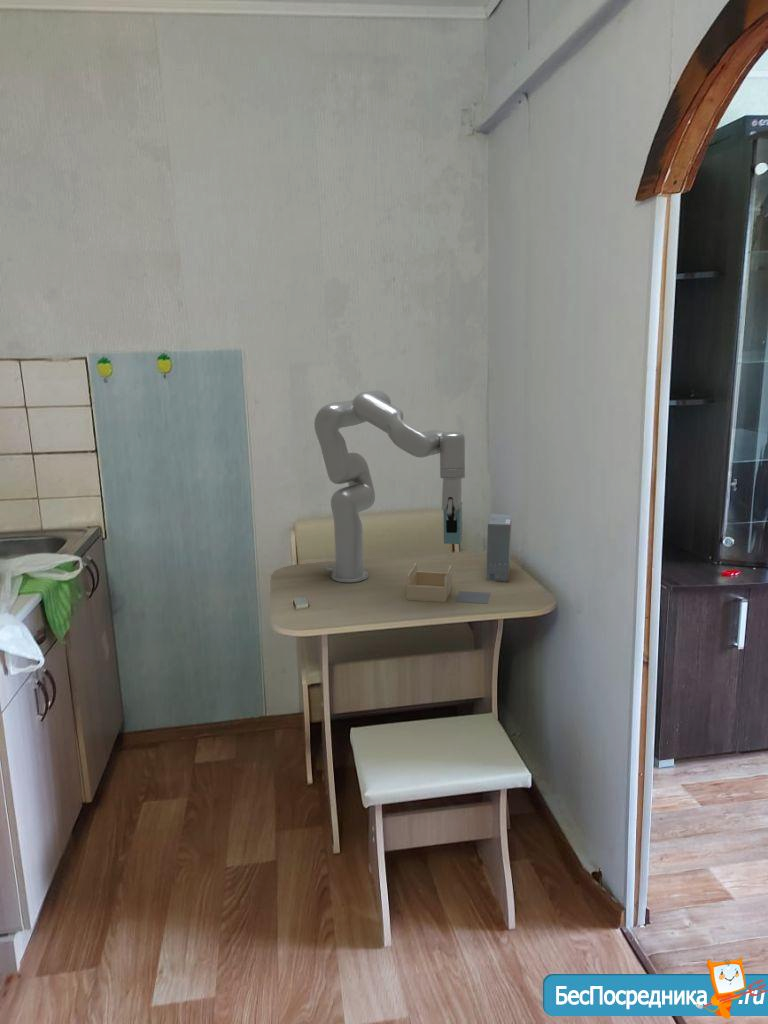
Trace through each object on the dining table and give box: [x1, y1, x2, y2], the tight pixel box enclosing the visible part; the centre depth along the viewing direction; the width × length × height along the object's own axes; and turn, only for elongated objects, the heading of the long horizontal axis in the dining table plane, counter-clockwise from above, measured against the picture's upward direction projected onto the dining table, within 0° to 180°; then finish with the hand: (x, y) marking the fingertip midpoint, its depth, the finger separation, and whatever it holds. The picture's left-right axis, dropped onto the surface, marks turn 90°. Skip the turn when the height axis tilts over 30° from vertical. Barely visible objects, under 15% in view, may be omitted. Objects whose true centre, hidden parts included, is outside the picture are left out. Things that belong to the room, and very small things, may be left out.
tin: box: [443, 501, 463, 545], centre depth 234 cm, size 5×5×12 cm
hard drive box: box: [485, 513, 513, 582], centre depth 259 cm, size 16×8×20 cm, turn 168°
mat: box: [454, 590, 491, 605], centre depth 238 cm, size 10×10×1 cm
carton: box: [406, 562, 453, 603], centre depth 242 cm, size 12×15×8 cm
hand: (452, 529), depth 235 cm, fingers closed on tin, 5 cm apart
